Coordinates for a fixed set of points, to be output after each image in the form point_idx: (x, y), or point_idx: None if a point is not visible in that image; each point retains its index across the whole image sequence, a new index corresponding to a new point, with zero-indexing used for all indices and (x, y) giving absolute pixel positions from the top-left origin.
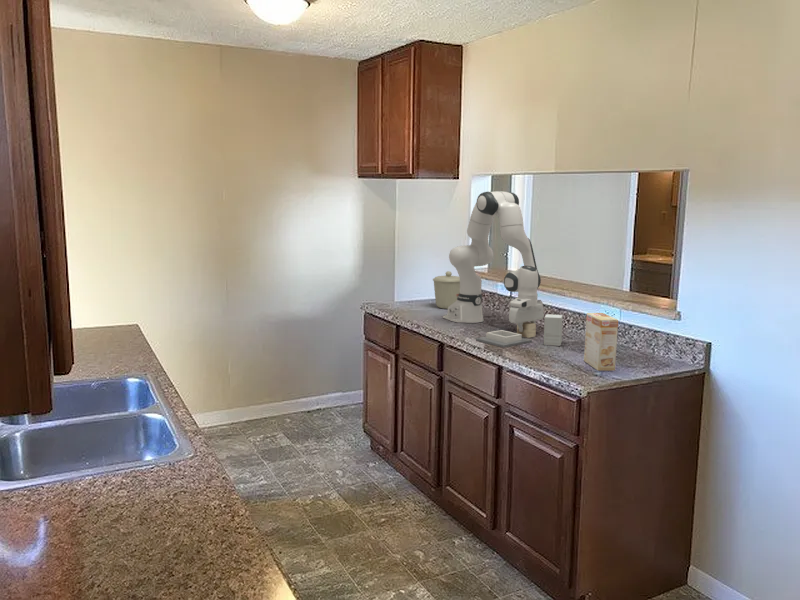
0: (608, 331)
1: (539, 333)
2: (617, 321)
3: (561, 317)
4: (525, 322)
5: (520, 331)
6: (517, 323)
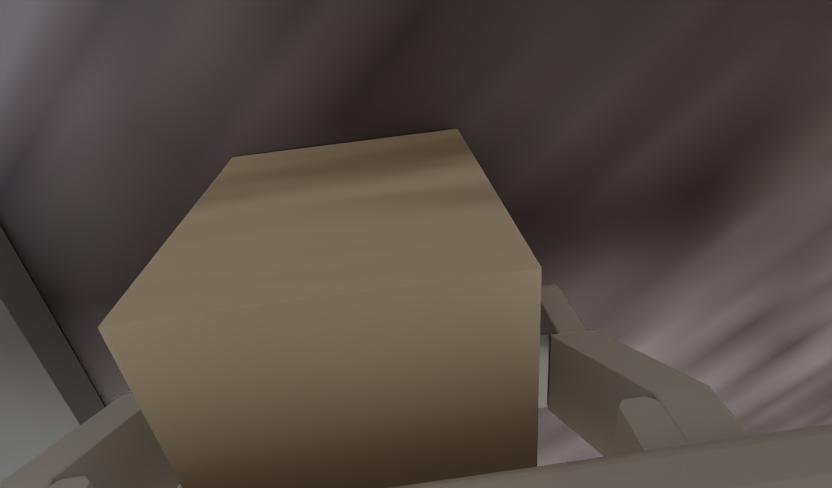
0: None
1: (728, 225)
2: None
3: None
4: (405, 426)
5: None
6: (121, 319)
